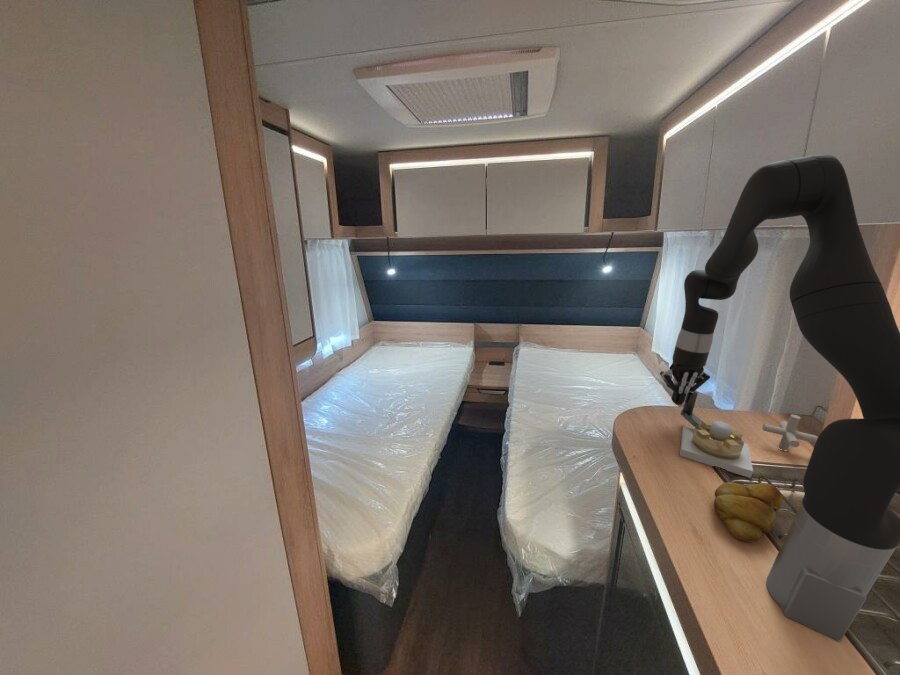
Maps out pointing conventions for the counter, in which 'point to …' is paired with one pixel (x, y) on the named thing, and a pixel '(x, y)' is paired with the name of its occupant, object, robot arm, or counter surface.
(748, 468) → the flange plate
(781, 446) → the pipe connector
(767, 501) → the bread roll
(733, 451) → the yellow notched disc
